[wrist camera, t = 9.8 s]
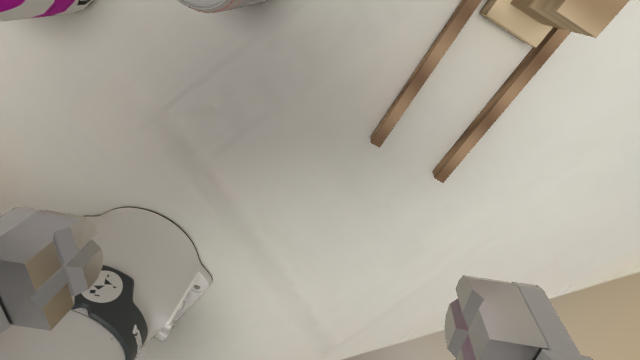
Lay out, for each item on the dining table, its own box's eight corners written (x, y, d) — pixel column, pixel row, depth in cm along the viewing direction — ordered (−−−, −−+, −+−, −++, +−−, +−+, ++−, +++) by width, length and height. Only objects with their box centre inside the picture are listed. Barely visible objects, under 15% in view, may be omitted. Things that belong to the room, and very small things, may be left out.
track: (440, 176, 38) (443, 182, 37) (370, 137, 37) (370, 142, 36) (666, -96, 26) (681, -100, 25) (573, -167, 25) (584, -175, 24)
